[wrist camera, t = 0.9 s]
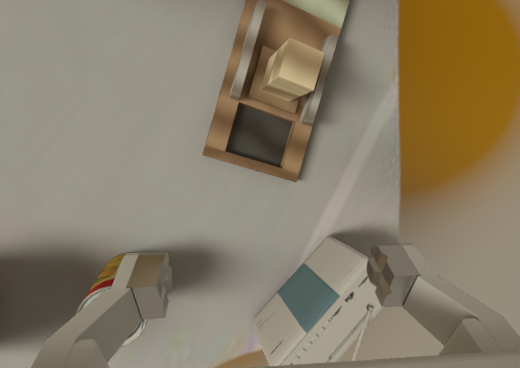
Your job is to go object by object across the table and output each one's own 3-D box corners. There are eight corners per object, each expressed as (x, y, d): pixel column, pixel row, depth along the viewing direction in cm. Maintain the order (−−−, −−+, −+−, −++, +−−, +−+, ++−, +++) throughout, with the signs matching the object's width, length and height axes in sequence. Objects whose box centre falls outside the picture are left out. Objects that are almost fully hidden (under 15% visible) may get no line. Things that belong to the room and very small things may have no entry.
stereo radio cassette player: (325, 231, 55) (403, 274, 36) (351, 258, 57) (438, 313, 38) (246, 317, 53) (285, 413, 34) (277, 342, 55) (330, 446, 36)
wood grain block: (293, 114, 49) (320, 105, 39) (247, 97, 46) (264, 83, 37) (306, 66, 48) (337, 45, 39) (261, 47, 46) (282, 20, 37)
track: (291, 180, 52) (303, 184, 47) (202, 154, 48) (205, 155, 43) (352, -27, 51) (371, -46, 46) (266, -74, 46) (277, -100, 42)
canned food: (93, 293, 46) (64, 341, 34) (113, 245, 46) (90, 278, 34) (144, 306, 48) (133, 355, 36) (163, 261, 48) (158, 296, 36)
